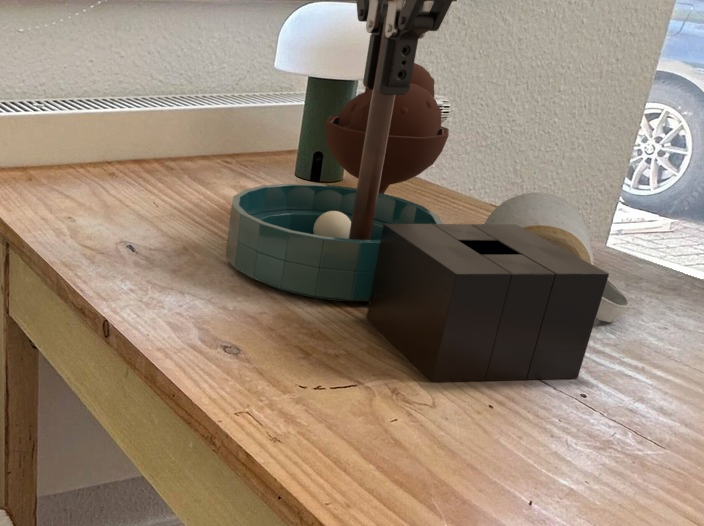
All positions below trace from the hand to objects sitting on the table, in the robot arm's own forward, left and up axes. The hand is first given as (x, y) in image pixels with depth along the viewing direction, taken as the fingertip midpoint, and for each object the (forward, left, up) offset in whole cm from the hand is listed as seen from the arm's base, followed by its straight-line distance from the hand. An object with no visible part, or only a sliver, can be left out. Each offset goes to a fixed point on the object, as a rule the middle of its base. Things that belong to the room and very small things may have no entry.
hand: (384, 90), depth 63 cm
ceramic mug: (-13, +5, -15) cm, 21 cm away
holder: (-3, +12, -15) cm, 19 cm away
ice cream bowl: (-8, -15, -15) cm, 23 cm away
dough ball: (-1, -7, -13) cm, 14 cm away
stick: (0, 0, -13) cm, 13 cm away
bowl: (+1, -3, -15) cm, 15 cm away
